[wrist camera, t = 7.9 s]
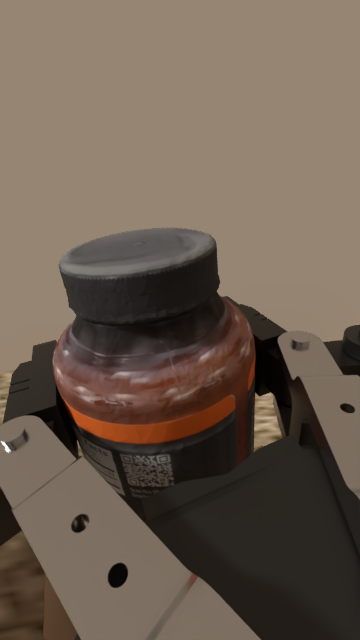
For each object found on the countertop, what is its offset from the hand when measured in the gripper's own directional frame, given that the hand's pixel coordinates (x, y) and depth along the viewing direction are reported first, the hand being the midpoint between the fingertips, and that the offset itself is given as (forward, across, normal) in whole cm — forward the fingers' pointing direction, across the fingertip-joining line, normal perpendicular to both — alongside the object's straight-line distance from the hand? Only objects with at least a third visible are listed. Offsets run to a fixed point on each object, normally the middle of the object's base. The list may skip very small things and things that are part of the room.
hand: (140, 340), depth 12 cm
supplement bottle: (-2, 0, +7) cm, 8 cm away
